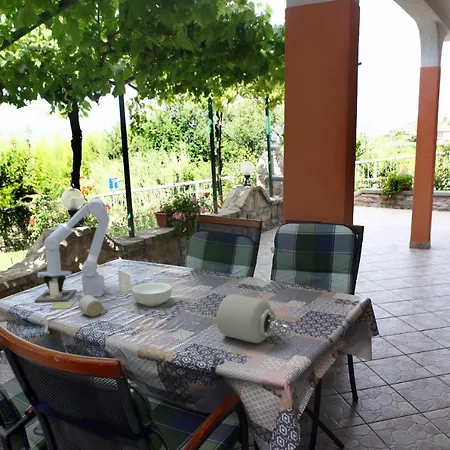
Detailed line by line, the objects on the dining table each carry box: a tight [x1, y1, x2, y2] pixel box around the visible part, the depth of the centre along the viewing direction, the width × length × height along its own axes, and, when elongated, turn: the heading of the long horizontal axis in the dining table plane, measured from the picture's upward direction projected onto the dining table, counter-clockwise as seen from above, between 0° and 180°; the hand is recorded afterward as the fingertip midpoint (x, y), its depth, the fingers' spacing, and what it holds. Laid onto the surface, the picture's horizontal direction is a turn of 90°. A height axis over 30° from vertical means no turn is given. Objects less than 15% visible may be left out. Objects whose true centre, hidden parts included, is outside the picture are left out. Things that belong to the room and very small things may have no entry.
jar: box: [216, 293, 288, 344], centre depth 157 cm, size 19×15×25 cm
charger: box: [49, 278, 63, 297], centre depth 208 cm, size 4×5×8 cm
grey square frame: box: [34, 289, 78, 304], centre depth 208 cm, size 14×14×2 cm
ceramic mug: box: [78, 295, 108, 318], centre depth 186 cm, size 10×8×7 cm
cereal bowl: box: [131, 282, 173, 307], centre depth 198 cm, size 17×17×7 cm
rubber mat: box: [49, 301, 76, 310], centre depth 197 cm, size 8×8×1 cm
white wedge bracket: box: [117, 270, 135, 294], centre depth 216 cm, size 4×10×9 cm, turn 146°
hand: (56, 291), depth 208 cm, fingers closed on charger, 4 cm apart
